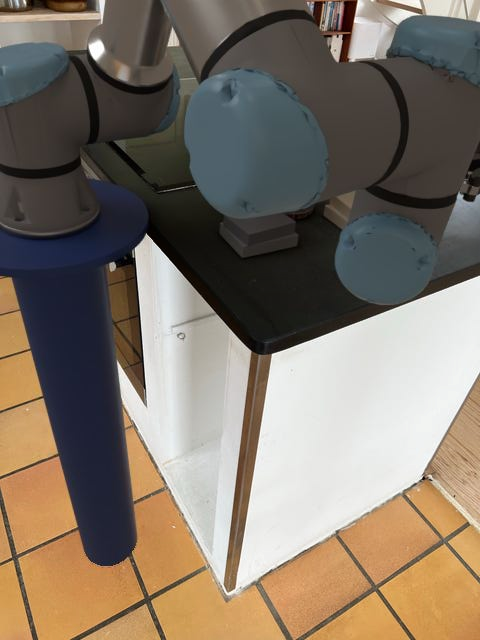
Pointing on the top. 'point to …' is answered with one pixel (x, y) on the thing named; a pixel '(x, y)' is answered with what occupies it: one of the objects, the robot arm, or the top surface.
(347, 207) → the white books
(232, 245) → the grey books
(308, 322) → the top surface
